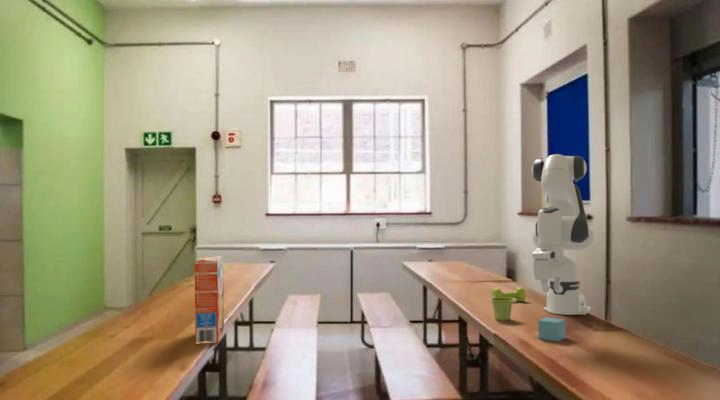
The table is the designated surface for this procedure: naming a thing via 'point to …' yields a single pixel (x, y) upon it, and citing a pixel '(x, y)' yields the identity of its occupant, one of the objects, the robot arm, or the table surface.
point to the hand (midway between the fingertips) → (551, 290)
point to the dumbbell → (510, 294)
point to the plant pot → (502, 308)
